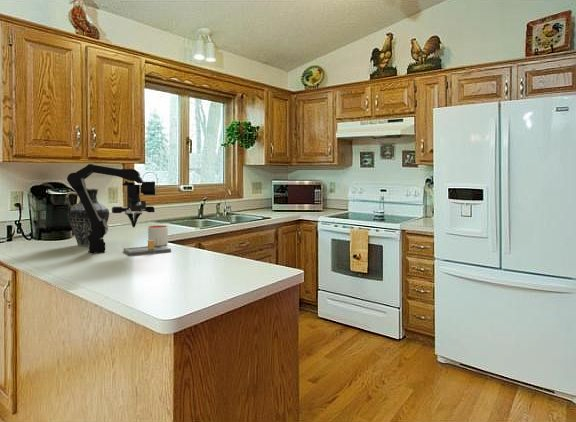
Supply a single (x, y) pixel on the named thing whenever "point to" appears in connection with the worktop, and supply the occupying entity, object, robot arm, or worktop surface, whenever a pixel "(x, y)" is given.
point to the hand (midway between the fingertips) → (133, 227)
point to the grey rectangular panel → (146, 250)
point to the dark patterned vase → (84, 216)
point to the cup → (158, 234)
